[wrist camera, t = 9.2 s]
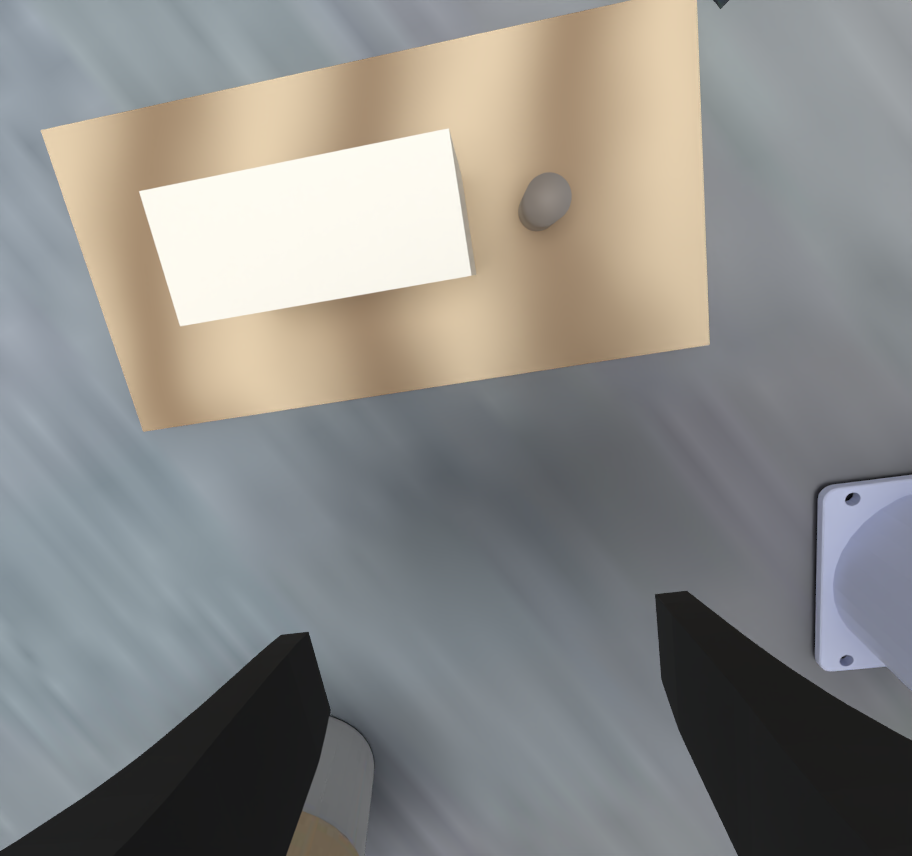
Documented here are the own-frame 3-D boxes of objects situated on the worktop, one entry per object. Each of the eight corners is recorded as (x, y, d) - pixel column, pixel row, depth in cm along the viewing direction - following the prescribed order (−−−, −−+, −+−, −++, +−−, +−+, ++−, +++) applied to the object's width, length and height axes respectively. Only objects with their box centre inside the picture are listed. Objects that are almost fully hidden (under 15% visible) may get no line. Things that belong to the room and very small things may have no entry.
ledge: (681, 6, 16) (746, -84, 12) (695, 340, 19) (753, 359, 14) (69, 139, 18) (-53, 100, 14) (162, 422, 21) (83, 459, 16)
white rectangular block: (460, 169, 16) (447, 120, 11) (476, 274, 17) (471, 275, 12) (245, 211, 17) (137, 184, 12) (271, 310, 18) (179, 326, 13)
